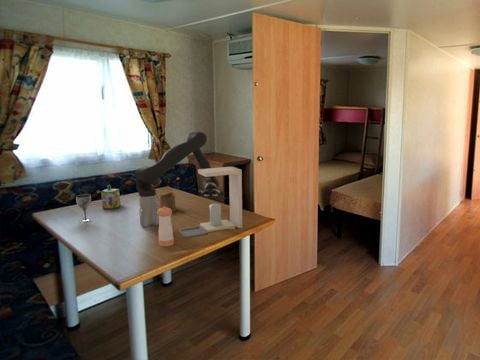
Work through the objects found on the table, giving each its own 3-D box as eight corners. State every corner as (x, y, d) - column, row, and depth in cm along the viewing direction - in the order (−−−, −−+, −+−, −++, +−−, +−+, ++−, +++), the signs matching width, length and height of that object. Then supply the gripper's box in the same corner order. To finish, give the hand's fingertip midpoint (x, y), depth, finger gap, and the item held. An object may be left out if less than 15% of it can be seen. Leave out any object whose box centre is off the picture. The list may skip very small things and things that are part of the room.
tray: (184, 239, 176) (184, 236, 175) (178, 232, 186) (178, 229, 186) (207, 235, 181) (207, 232, 180) (200, 228, 191) (199, 226, 191)
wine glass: (87, 217, 214) (85, 193, 211) (96, 219, 210) (93, 195, 207) (75, 221, 207) (72, 196, 204) (84, 223, 203) (81, 198, 200)
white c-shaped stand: (207, 233, 184) (205, 173, 177) (199, 227, 194) (197, 169, 188) (242, 227, 192) (241, 169, 186) (233, 221, 203) (232, 166, 196)
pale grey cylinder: (212, 227, 188) (211, 207, 185) (208, 223, 193) (207, 204, 191) (222, 225, 190) (222, 205, 188) (218, 222, 196) (218, 202, 193)
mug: (146, 211, 226) (145, 192, 224) (171, 206, 237) (170, 188, 235) (155, 215, 218) (154, 196, 215) (180, 209, 229) (179, 191, 227)
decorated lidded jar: (115, 208, 233) (113, 186, 230) (102, 208, 233) (100, 186, 230) (121, 205, 242) (119, 183, 239) (108, 204, 242) (106, 183, 240)
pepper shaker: (155, 246, 168) (152, 207, 164) (166, 241, 174) (164, 203, 170) (166, 249, 164) (164, 209, 160) (177, 244, 170) (175, 205, 166)
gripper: (198, 183, 215) (198, 189, 199) (222, 183, 216) (223, 188, 200) (199, 195, 216) (198, 202, 200) (222, 195, 217) (223, 201, 201)
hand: (210, 195), depth 200 cm, fingers open, 8 cm apart
